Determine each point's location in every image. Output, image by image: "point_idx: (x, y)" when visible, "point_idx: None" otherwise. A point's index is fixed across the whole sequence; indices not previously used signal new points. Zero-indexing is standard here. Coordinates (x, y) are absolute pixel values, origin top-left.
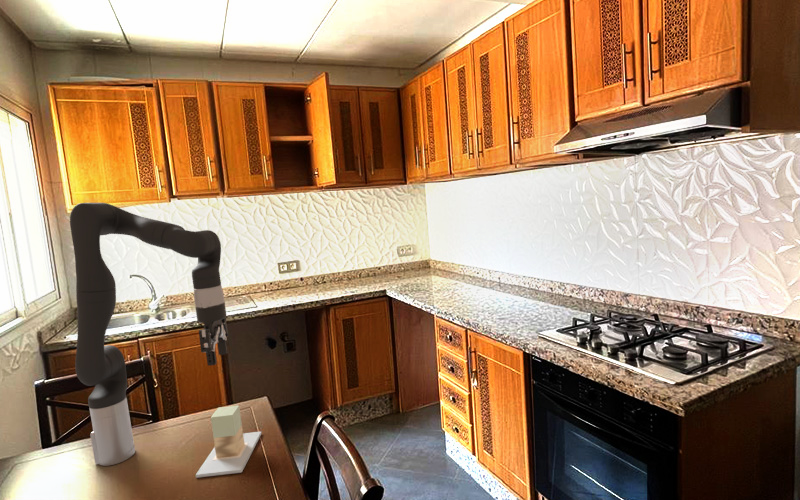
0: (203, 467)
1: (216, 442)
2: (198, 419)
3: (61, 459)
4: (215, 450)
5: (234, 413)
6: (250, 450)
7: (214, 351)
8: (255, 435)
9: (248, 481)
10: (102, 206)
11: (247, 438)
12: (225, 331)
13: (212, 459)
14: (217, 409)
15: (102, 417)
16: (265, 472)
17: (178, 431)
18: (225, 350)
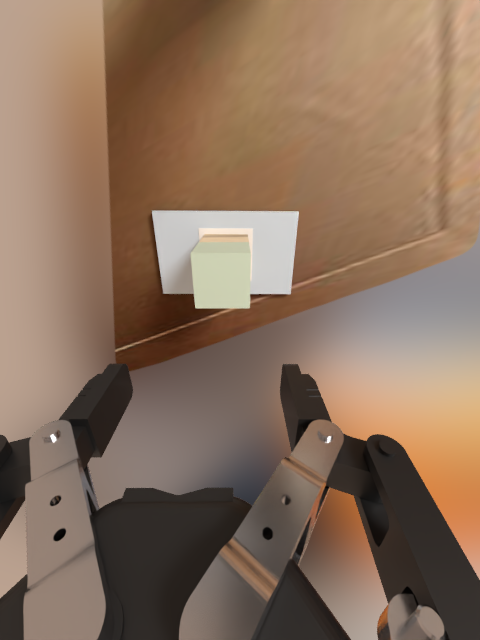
0: (175, 217)
1: None
2: (445, 85)
3: None
4: (203, 236)
5: (210, 306)
6: None
7: (91, 456)
8: (276, 287)
9: (142, 307)
10: None
11: (269, 274)
12: (366, 528)
13: (202, 226)
14: (237, 255)
15: None
16: (164, 326)
17: (390, 43)
18: (284, 406)
